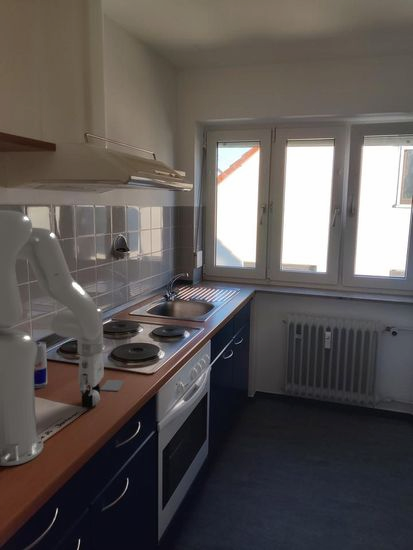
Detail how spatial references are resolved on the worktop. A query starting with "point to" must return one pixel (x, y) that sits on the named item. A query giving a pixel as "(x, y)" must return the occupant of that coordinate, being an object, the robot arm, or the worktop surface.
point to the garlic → (95, 397)
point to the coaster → (112, 385)
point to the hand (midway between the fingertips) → (91, 401)
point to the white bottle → (40, 366)
